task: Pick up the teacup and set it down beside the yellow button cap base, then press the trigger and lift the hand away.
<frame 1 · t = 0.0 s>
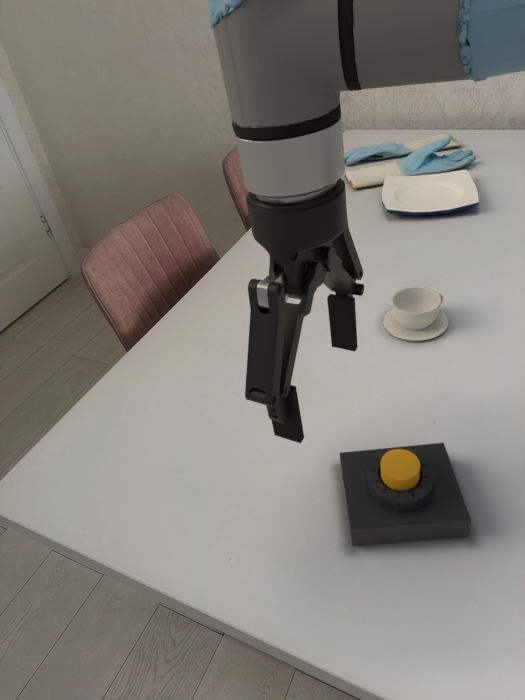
hand: (319, 388, 50), 15 cm above the table, tool pointing down, fingers open, 13 cm apart
teacup: (415, 324, 80), on the table
rubber gloves: (403, 162, 134), on the table
yellow button cap base: (399, 500, 56), on the table
trigger: (400, 469, 53), point 6 cm above the table, slide at 0.1 cm
plate: (427, 200, 114), on the table
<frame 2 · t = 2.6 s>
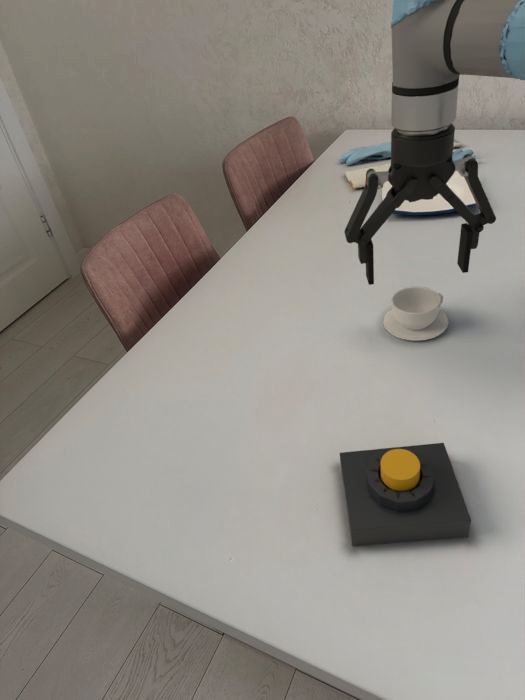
hand: (415, 274, 74), 9 cm above the table, tool pointing down, fingers open, 13 cm apart
nothing on the table moved.
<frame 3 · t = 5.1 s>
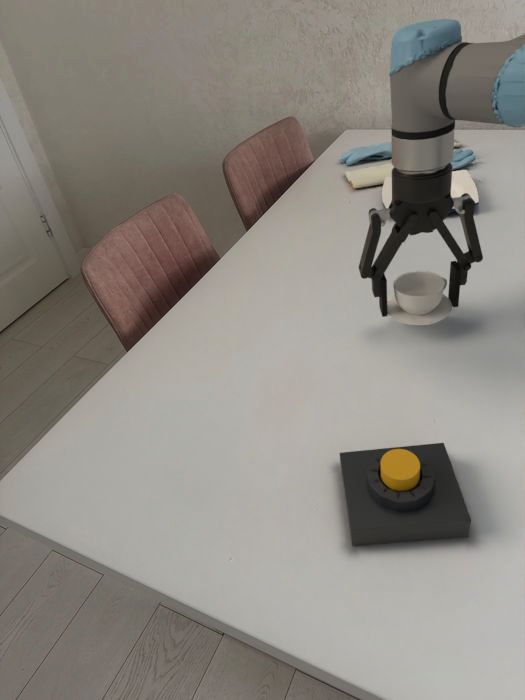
hand: (418, 307, 78), 3 cm above the table, tool pointing down, fingers closed on teacup, 10 cm apart
teacup: (418, 309, 78), point 3 cm above the table, touching gripper
everything else where it was.
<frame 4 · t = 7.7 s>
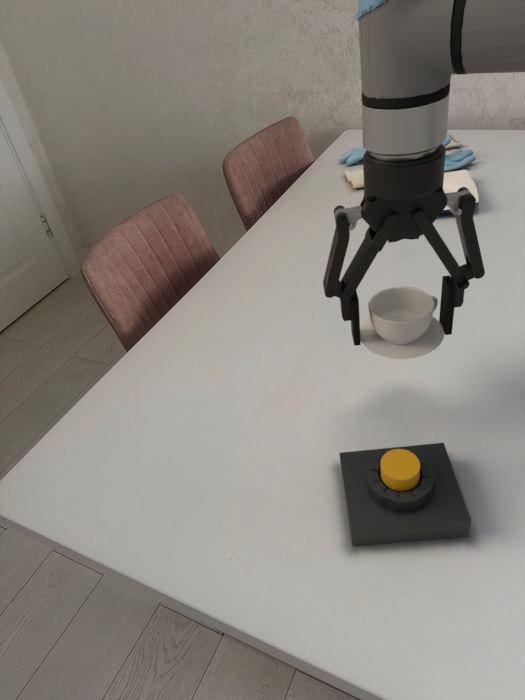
hand: (400, 333, 60), 12 cm above the table, tool pointing down, fingers closed on teacup, 10 cm apart
teacup: (400, 336, 61), point 11 cm above the table, touching gripper
everything else where it was.
when the fingers open (0 cm above the table, at t = 10.7 s): teacup stays where it is, on the table.
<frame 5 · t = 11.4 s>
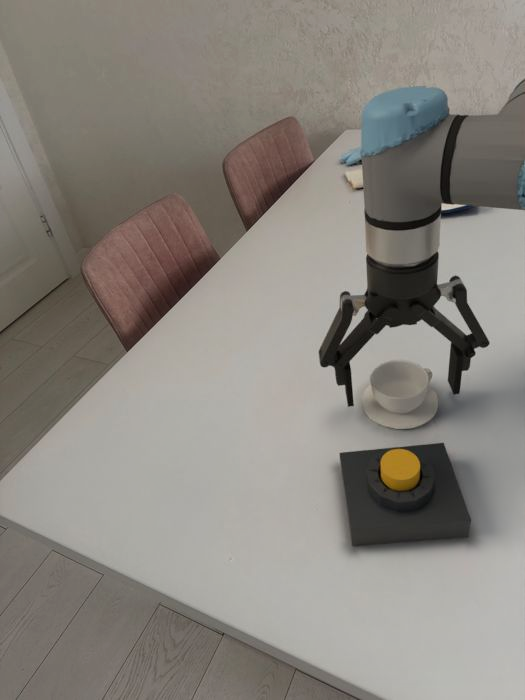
hand: (400, 393, 66), 2 cm above the table, tool pointing down, fingers open, 13 cm apart
teacup: (399, 404, 68), on the table
everything else where it was.
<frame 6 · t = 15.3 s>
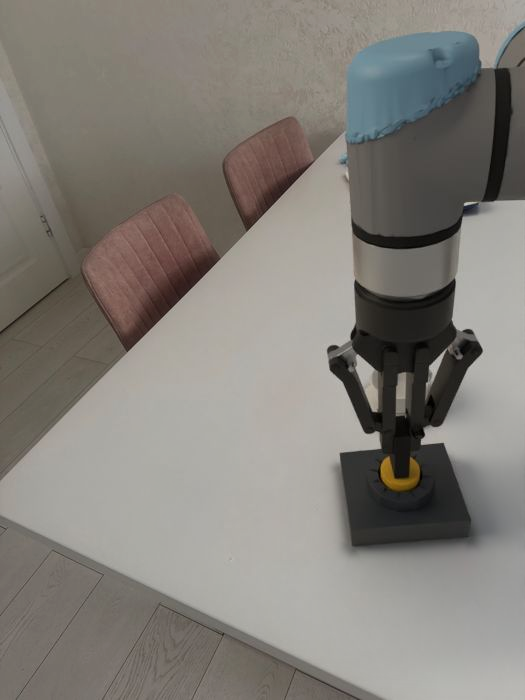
hand: (399, 467, 52), 6 cm above the table, tool pointing down, fingers closed
trigger: (400, 474, 53), point 5 cm above the table, slide at -0.8 cm, touching gripper
everything else where it was.
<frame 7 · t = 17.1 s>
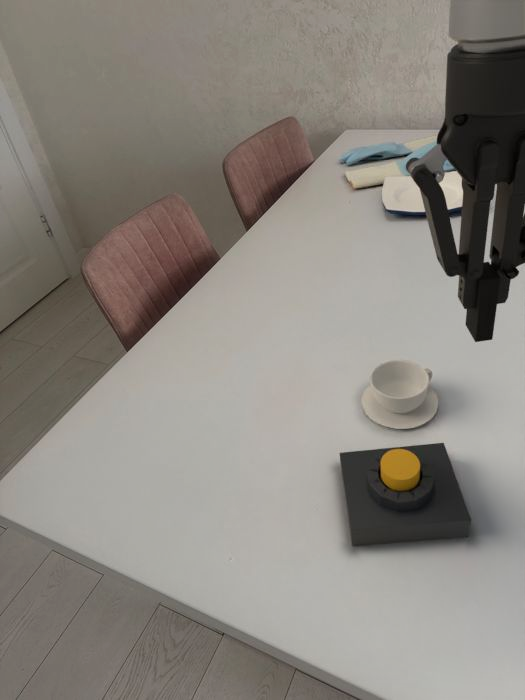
hand: (478, 331, 46), 20 cm above the table, tool pointing down, fingers closed
trigger: (400, 469, 53), point 6 cm above the table, slide at 0.1 cm
everything else where it was.
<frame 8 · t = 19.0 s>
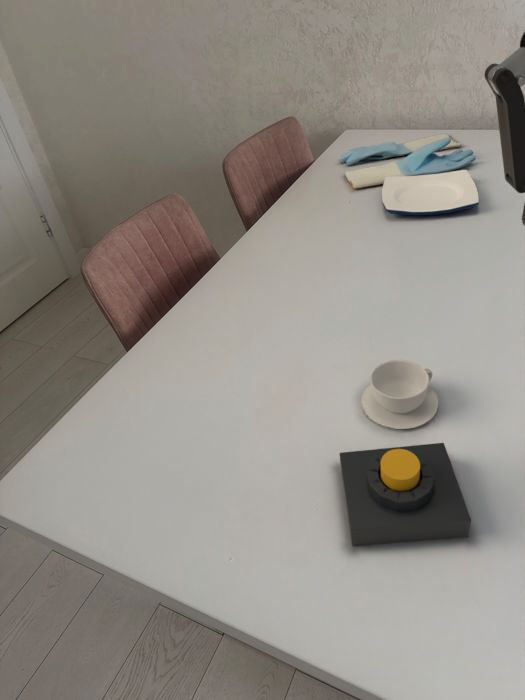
nothing on the table moved.
at the end: trigger pushed in 1.0 cm at the most during the clip, back to where it started at the end; trigger slide at 0.1 cm; teacup inside the target area on the table beside the yellow button cap base (0.6 cm from its centre), on the table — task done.
